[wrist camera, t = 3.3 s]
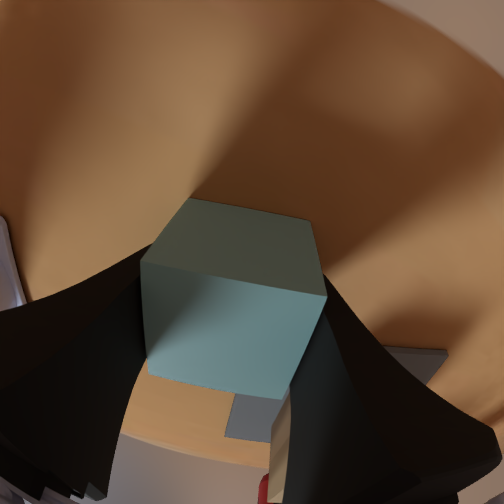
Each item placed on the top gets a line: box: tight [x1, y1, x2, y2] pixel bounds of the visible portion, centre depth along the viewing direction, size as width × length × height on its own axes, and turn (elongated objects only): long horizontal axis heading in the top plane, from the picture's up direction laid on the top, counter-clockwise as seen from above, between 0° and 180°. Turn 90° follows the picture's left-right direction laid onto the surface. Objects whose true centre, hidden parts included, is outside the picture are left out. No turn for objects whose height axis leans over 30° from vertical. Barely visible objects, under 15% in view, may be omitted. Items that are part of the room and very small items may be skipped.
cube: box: [140, 198, 327, 400], centre depth 9 cm, size 4×4×4 cm
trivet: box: [225, 346, 449, 443], centre depth 14 cm, size 10×10×1 cm
